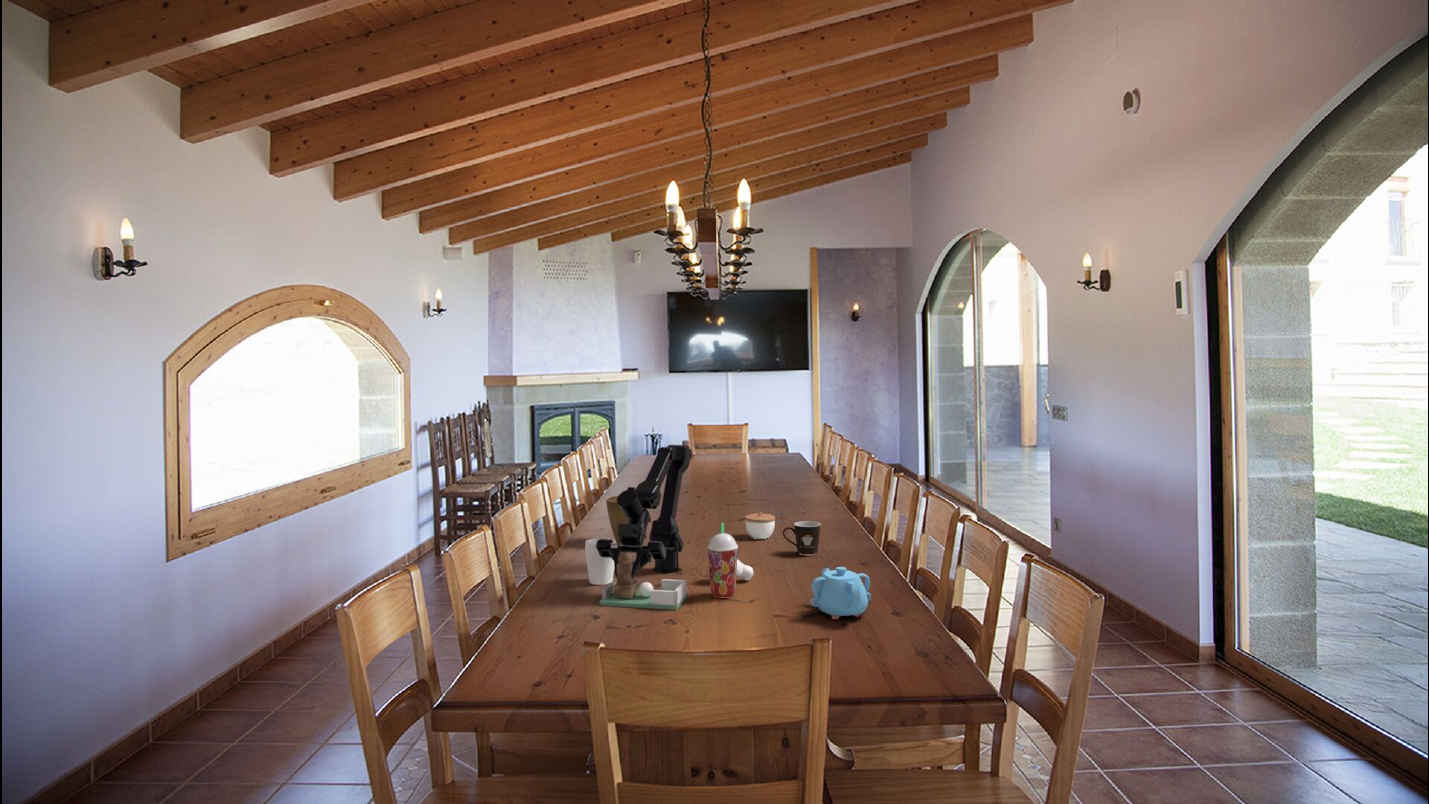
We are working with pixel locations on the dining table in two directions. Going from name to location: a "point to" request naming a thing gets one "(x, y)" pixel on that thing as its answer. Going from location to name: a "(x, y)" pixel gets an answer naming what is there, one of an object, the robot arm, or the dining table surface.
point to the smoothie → (722, 564)
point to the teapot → (841, 592)
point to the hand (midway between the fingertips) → (624, 577)
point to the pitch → (659, 599)
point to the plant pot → (615, 516)
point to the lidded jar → (760, 525)
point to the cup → (598, 564)
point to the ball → (645, 589)
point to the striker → (625, 577)
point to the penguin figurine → (744, 571)
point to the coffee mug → (806, 536)
